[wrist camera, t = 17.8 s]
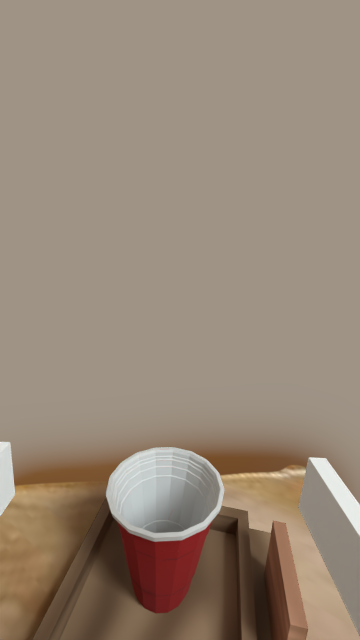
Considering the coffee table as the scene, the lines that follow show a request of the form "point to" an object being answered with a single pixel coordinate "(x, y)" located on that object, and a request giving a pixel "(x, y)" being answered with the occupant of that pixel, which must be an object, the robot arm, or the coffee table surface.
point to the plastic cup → (164, 520)
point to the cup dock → (203, 595)
